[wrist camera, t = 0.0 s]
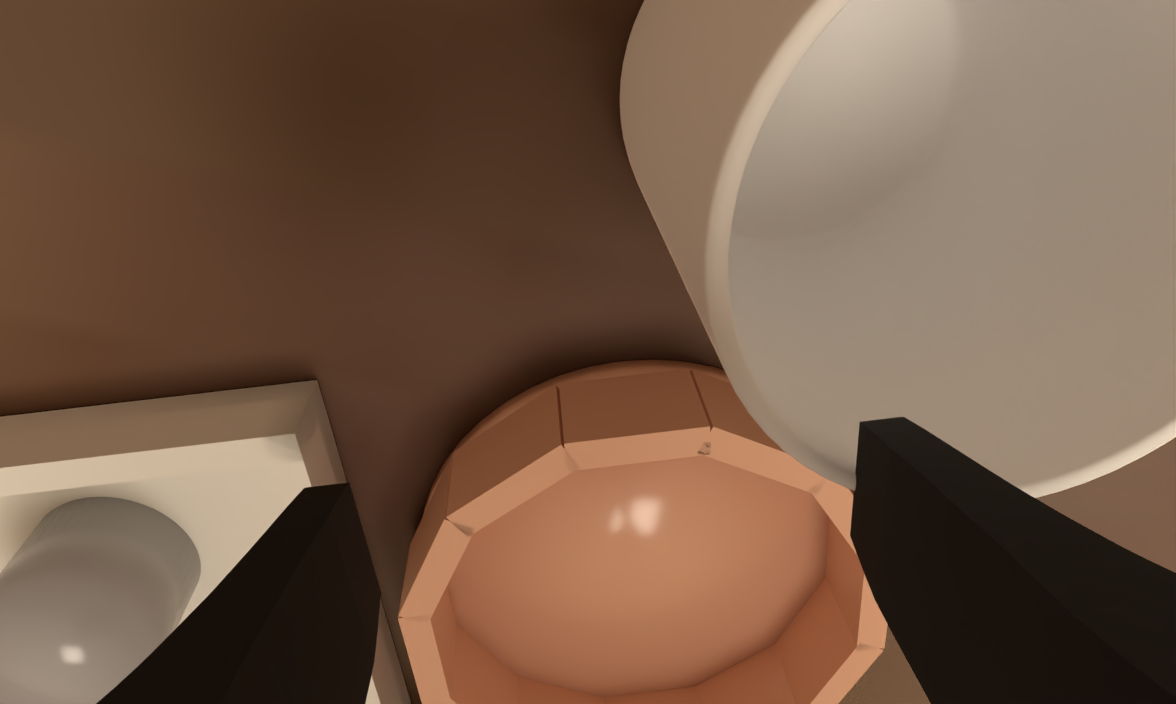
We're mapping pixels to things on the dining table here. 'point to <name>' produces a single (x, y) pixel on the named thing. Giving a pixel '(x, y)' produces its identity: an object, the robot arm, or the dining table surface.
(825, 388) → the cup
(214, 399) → the tray
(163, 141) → the dining table surface
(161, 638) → the pebble
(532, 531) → the bowl
